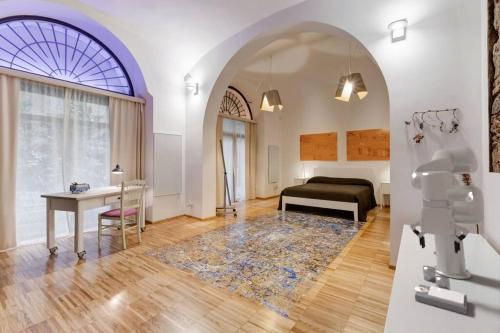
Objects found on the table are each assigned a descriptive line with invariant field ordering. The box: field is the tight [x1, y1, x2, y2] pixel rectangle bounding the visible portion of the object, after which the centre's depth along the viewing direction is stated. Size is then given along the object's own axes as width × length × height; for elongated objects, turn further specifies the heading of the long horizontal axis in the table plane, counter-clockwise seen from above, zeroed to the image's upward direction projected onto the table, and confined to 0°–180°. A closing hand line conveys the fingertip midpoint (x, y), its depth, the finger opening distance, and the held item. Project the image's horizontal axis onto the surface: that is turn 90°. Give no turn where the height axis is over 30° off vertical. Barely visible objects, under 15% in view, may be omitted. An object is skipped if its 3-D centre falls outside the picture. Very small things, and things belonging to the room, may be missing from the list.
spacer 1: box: [422, 265, 437, 283], centre depth 94 cm, size 4×4×5 cm
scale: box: [414, 284, 468, 316], centre depth 79 cm, size 10×14×3 cm
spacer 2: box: [435, 275, 451, 290], centre depth 85 cm, size 4×4×5 cm
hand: (439, 249), depth 85 cm, fingers open, 9 cm apart
